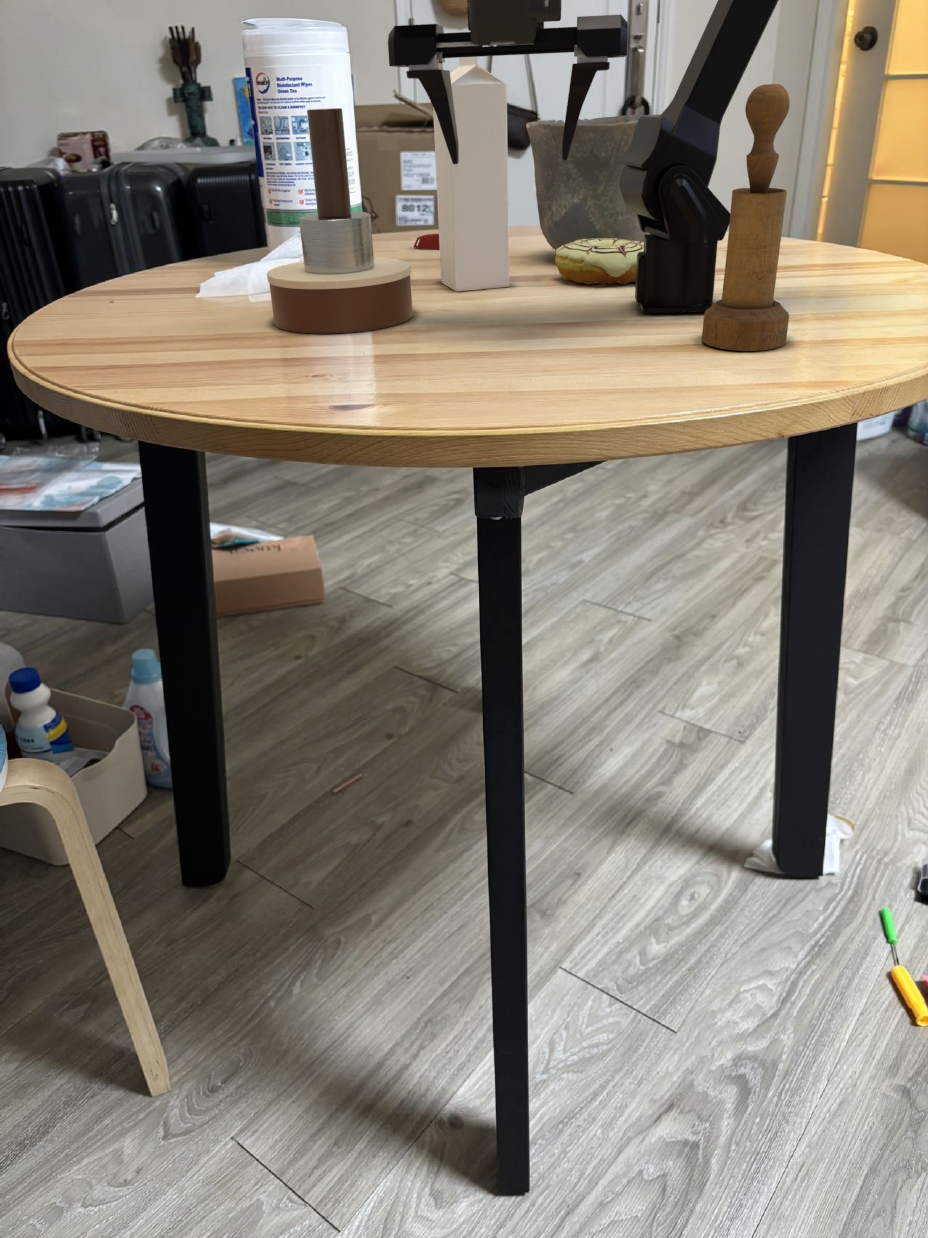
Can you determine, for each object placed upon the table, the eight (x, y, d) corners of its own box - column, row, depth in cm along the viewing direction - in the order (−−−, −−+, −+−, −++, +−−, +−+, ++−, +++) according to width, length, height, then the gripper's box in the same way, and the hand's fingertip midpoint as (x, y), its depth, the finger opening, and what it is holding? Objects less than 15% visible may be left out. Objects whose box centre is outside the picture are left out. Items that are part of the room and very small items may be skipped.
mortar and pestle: (774, 354, 73) (806, 83, 64) (690, 347, 76) (710, 86, 67) (794, 335, 78) (826, 81, 69) (715, 329, 81) (736, 84, 72)
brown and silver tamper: (388, 266, 89) (376, 106, 82) (332, 276, 85) (315, 109, 79) (346, 260, 93) (332, 107, 87) (291, 269, 89) (272, 110, 83)
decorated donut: (628, 290, 98) (629, 251, 96) (537, 283, 103) (537, 245, 101) (671, 273, 105) (674, 236, 103) (584, 267, 111) (585, 232, 109)
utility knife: (498, 248, 126) (497, 232, 125) (495, 250, 125) (495, 233, 125) (415, 247, 130) (414, 231, 129) (412, 248, 129) (411, 232, 128)
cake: (422, 303, 96) (419, 255, 94) (402, 332, 85) (398, 279, 82) (293, 305, 97) (287, 258, 95) (256, 335, 86) (248, 282, 84)
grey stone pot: (550, 245, 127) (551, 117, 120) (685, 246, 122) (695, 112, 114) (510, 267, 113) (508, 123, 105) (662, 270, 107) (670, 118, 100)
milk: (455, 292, 101) (444, 47, 90) (440, 283, 106) (428, 50, 95) (511, 286, 102) (506, 44, 91) (493, 277, 107) (487, 47, 96)
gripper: (367, -71, 68) (384, 173, 75) (636, -87, 66) (626, 165, 73) (393, -52, 78) (406, 163, 85) (628, -65, 76) (620, 155, 83)
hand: (509, 161), depth 81 cm, fingers open, 9 cm apart
